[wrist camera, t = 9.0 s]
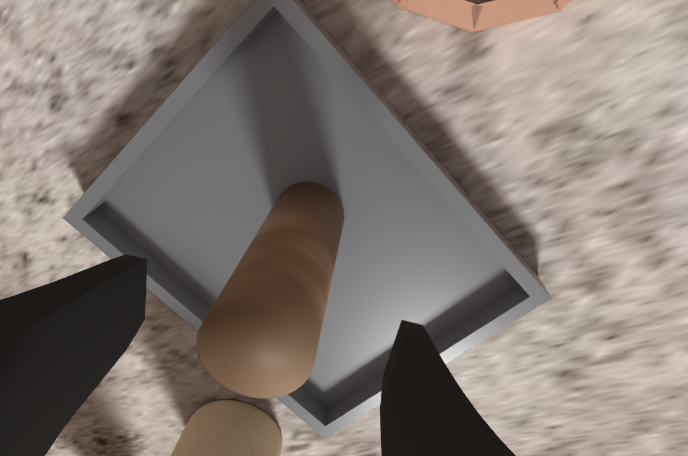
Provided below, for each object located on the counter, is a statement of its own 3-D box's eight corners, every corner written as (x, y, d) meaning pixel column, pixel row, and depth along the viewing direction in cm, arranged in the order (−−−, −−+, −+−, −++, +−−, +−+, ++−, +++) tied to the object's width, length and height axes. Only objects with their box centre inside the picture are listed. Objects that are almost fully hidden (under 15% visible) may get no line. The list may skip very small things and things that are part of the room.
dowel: (351, 191, 19) (325, 318, 11) (336, 253, 20) (303, 409, 12) (281, 174, 19) (202, 288, 11) (269, 237, 20) (191, 383, 12)
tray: (538, 276, 21) (551, 298, 19) (329, 411, 25) (325, 438, 23) (283, -19, 17) (272, -23, 15) (87, 202, 21) (62, 217, 19)
